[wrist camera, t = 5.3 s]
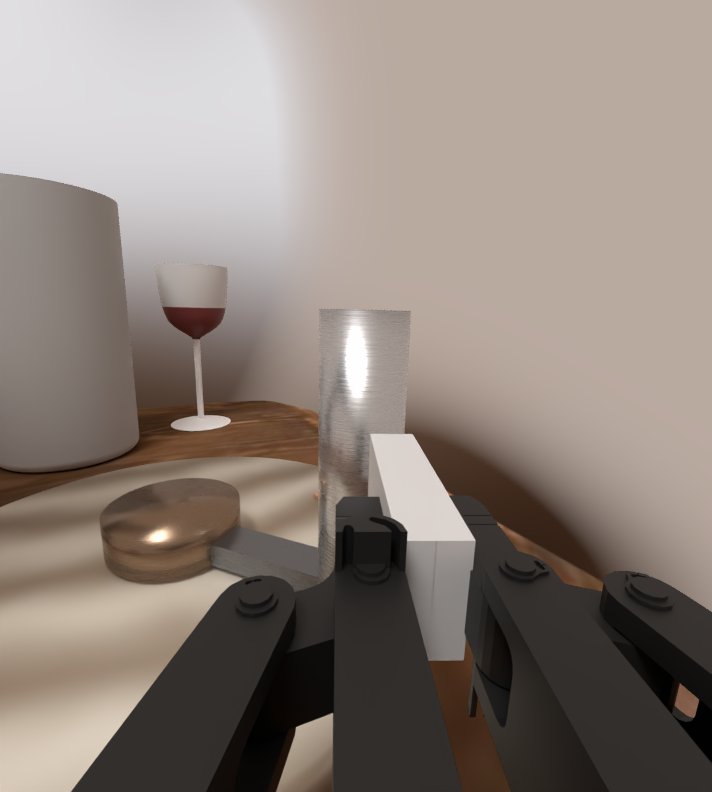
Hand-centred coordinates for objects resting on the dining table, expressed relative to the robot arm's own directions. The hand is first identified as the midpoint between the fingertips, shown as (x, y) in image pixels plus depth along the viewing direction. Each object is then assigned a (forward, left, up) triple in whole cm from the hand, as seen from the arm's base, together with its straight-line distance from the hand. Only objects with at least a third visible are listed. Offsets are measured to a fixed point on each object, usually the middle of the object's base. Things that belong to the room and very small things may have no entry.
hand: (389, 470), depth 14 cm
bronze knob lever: (-8, -3, -8) cm, 11 cm away
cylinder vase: (-39, -12, -10) cm, 42 cm away
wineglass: (-44, +2, -10) cm, 45 cm away
